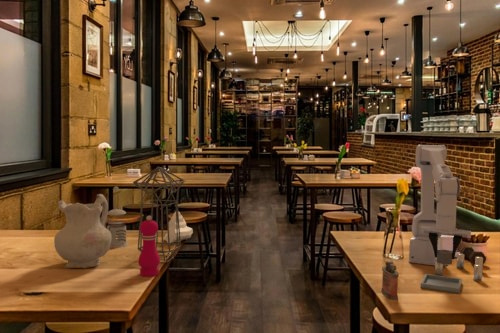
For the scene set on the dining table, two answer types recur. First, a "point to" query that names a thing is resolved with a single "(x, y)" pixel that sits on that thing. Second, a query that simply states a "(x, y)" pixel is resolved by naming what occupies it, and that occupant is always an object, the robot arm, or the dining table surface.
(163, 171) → the geometric lantern
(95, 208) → the ceramic pitcher
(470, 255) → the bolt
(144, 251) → the pepper mill
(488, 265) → the dining table surface
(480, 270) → the spacer field
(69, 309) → the dining table surface
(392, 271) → the lighter
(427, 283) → the tray
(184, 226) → the soft serve ice cream
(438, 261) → the nut
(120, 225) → the french press
